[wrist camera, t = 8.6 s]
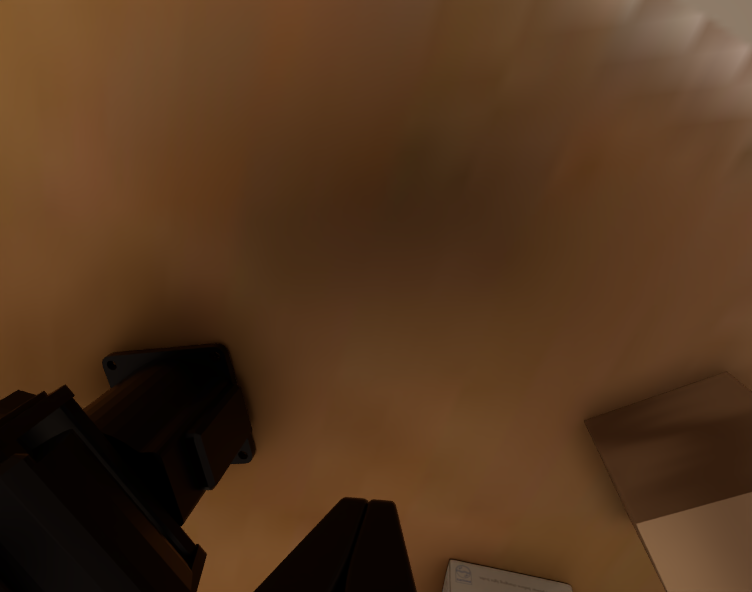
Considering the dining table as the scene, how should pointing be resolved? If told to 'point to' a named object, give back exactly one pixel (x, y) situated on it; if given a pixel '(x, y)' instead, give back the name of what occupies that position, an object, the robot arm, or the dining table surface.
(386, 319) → the dining table surface
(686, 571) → the walnut block
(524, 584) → the light bulb box
